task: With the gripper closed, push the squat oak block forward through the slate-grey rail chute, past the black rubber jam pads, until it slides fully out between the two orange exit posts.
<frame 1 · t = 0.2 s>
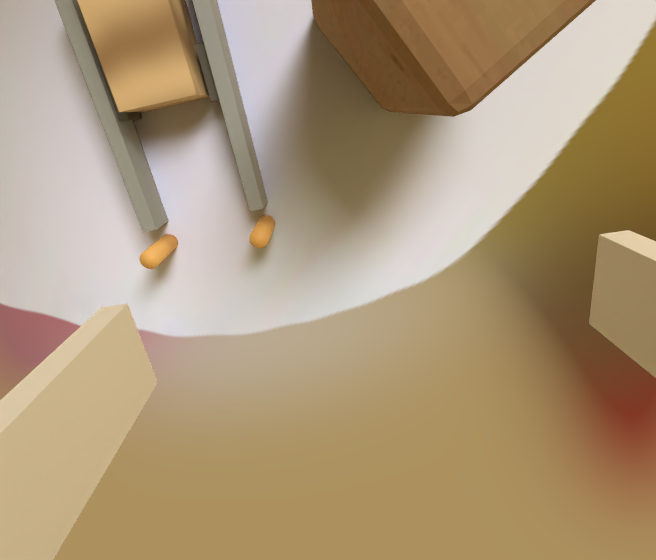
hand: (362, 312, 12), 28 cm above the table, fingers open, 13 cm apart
chute: (179, 110, 35), on the table
wooden block: (396, 21, 33), on the table
oak block: (160, 44, 33), on the table
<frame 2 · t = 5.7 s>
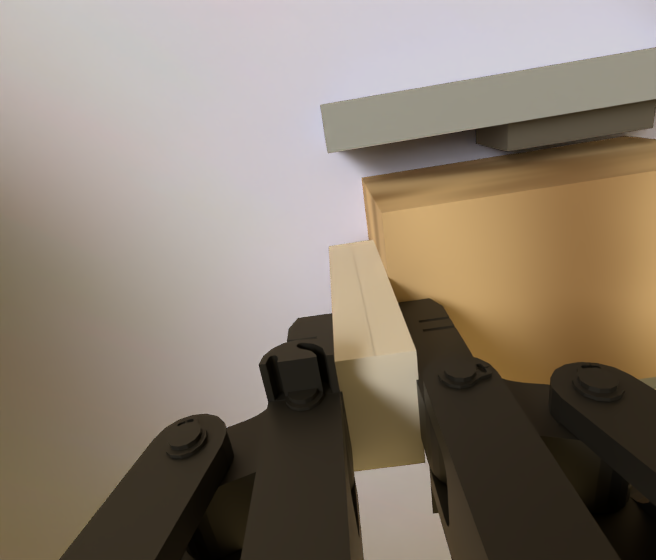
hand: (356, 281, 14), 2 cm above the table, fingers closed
chute: (587, 221, 15), on the table
oak block: (490, 239, 15), on the table, touching gripper
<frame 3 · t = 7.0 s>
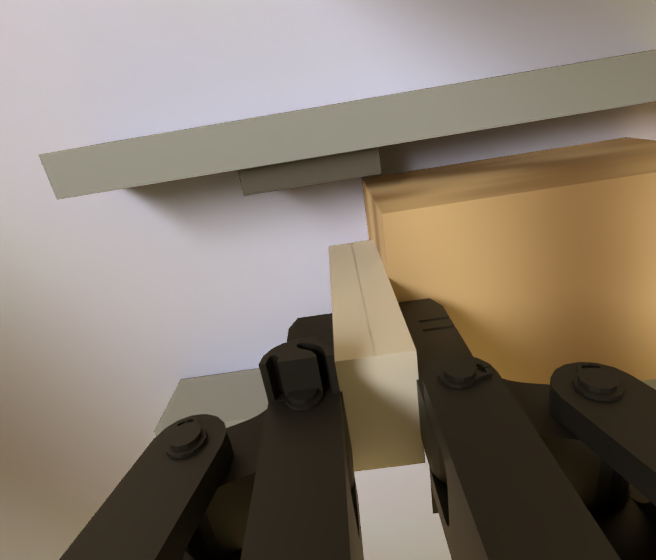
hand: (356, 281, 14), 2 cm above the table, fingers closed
chute: (381, 255, 15), on the table
oak block: (491, 240, 15), on the table, touching gripper
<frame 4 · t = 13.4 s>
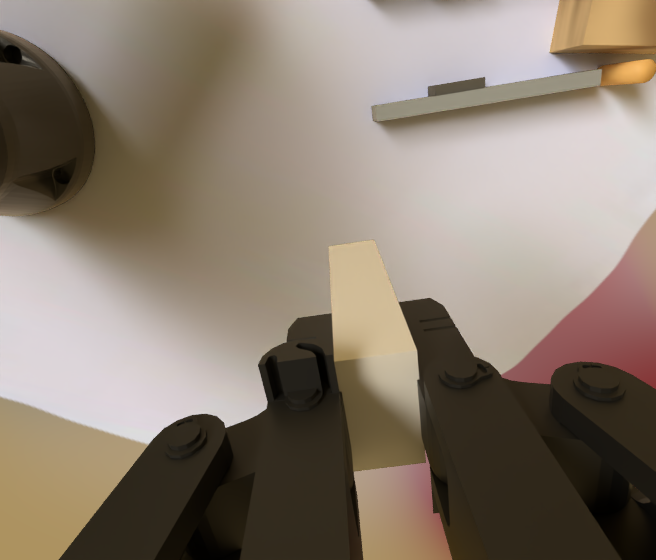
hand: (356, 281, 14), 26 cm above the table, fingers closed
chute: (473, 33, 34), on the table
oak block: (610, 11, 34), on the table
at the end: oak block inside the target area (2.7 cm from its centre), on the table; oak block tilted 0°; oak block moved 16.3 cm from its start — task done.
